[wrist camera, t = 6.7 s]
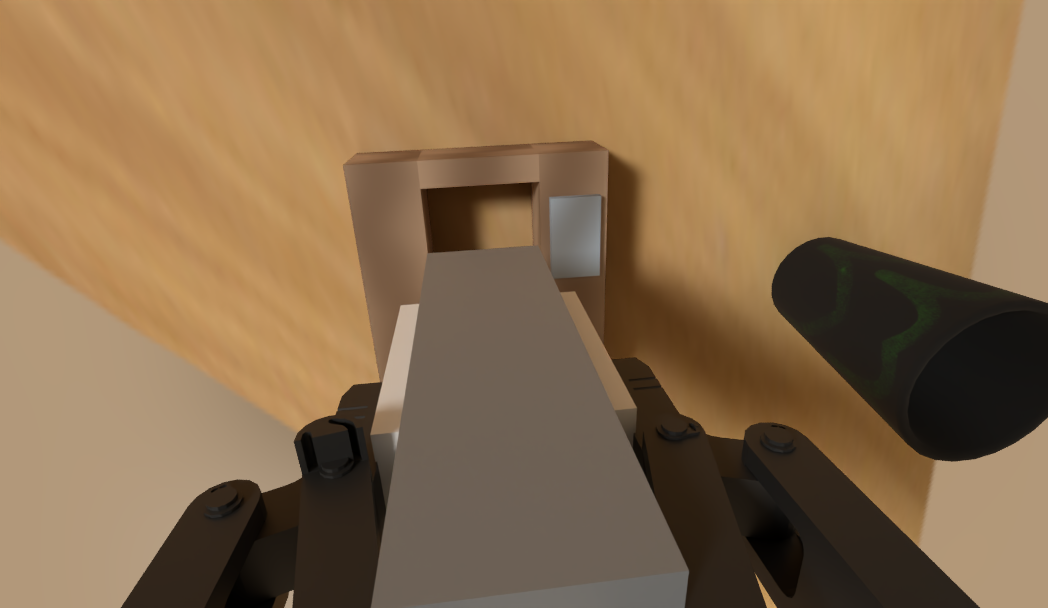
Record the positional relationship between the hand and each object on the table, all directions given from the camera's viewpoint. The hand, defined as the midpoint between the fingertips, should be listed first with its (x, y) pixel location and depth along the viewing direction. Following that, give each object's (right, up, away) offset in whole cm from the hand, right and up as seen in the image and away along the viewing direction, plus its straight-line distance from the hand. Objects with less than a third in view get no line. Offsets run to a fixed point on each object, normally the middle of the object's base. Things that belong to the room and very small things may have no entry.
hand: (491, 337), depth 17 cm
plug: (0, +1, +3) cm, 3 cm away
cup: (+19, +3, +16) cm, 25 cm away
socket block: (-1, +2, +14) cm, 14 cm away
